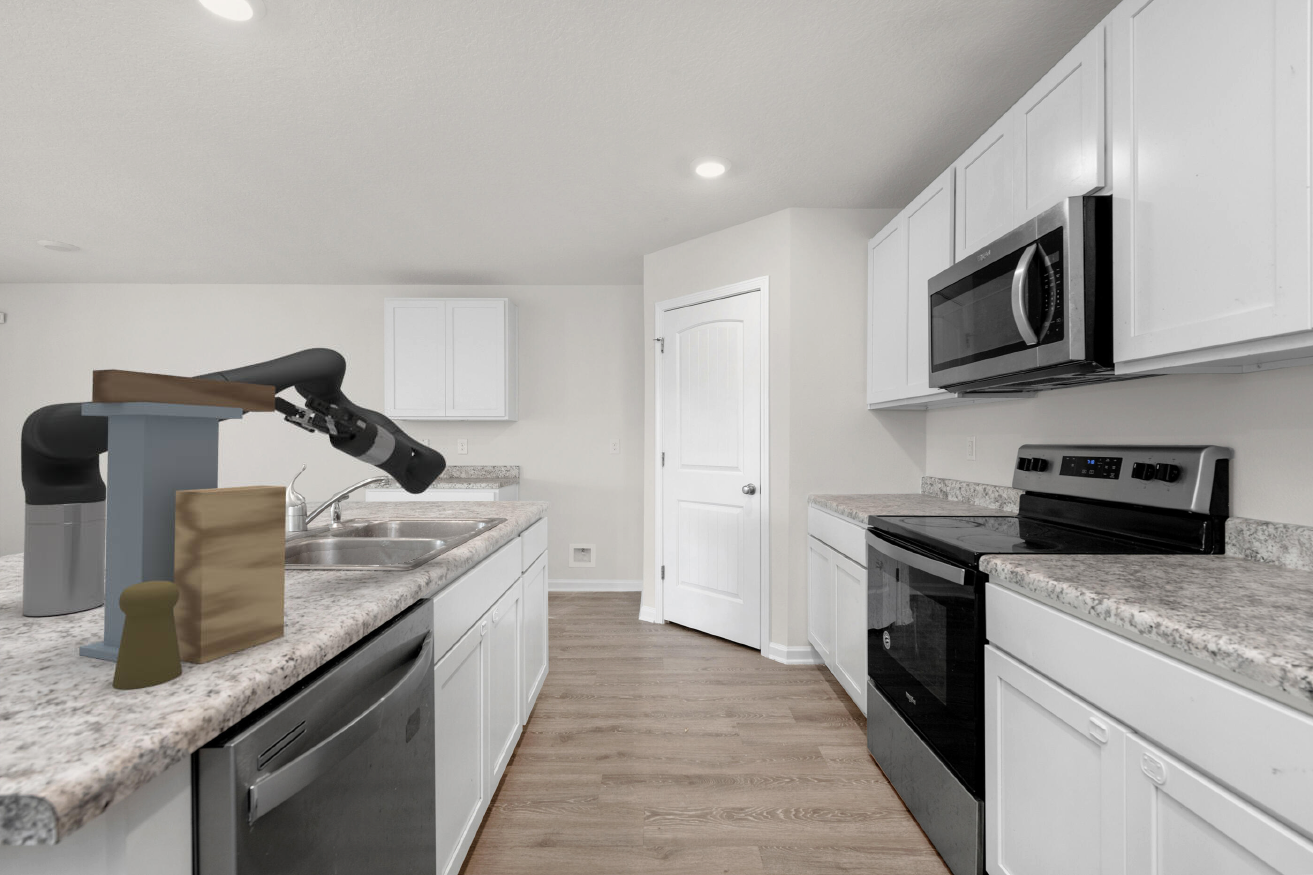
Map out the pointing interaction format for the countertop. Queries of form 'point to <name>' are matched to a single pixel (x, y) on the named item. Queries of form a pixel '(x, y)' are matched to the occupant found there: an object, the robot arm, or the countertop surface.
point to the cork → (148, 636)
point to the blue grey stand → (149, 493)
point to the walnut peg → (179, 390)
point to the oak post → (229, 569)
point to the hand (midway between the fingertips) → (290, 401)
